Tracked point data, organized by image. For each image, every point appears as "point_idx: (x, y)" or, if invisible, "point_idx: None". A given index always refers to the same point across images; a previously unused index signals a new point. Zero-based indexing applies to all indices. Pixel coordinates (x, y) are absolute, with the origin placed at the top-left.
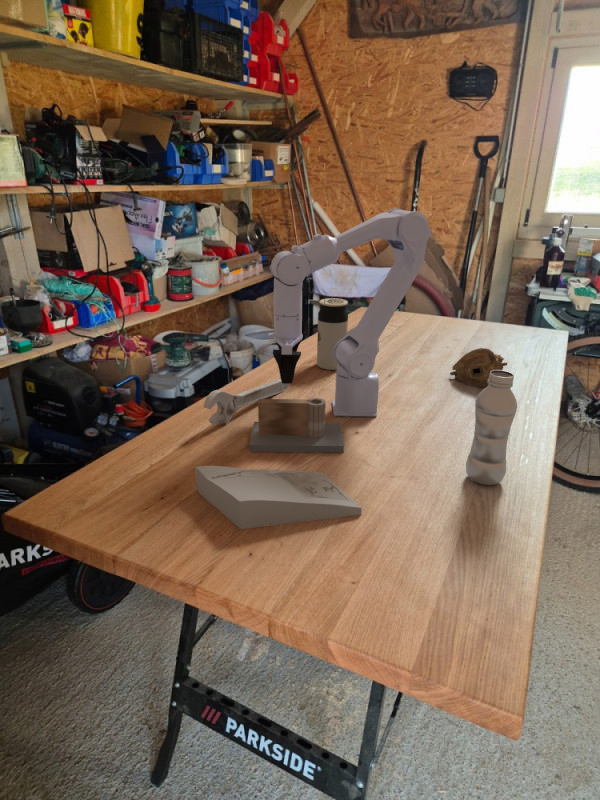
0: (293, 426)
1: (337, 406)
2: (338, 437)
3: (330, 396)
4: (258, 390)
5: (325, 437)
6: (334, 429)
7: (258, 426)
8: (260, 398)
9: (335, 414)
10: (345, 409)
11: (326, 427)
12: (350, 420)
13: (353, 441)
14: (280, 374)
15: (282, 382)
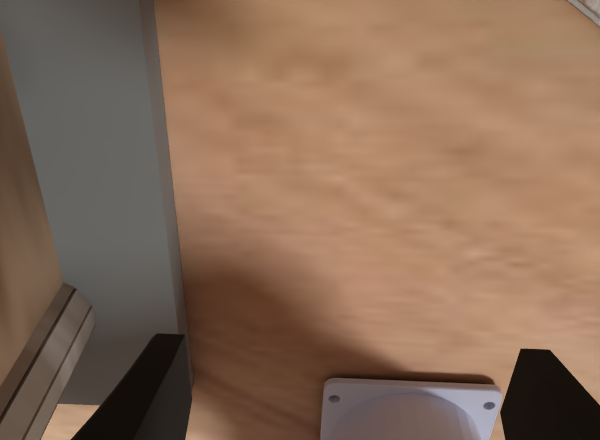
0: None
1: (375, 415)
2: None
3: (580, 380)
4: (586, 5)
5: None
6: (113, 383)
7: (62, 8)
8: (574, 2)
9: (324, 388)
10: (338, 437)
11: (128, 358)
12: (288, 421)
13: (90, 410)
14: (104, 401)
15: (149, 343)
